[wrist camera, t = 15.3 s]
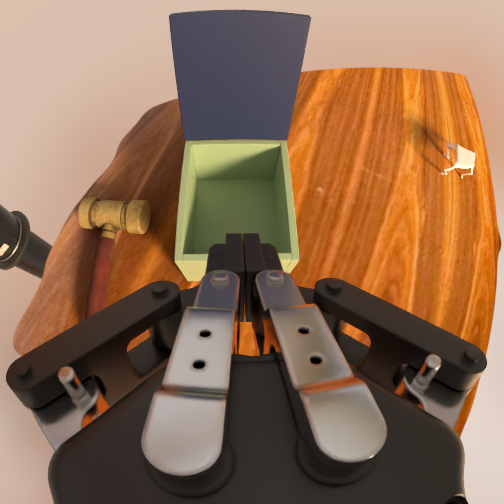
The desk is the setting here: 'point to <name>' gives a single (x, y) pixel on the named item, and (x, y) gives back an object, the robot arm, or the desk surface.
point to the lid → (237, 71)
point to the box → (234, 200)
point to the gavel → (109, 238)
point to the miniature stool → (461, 158)
